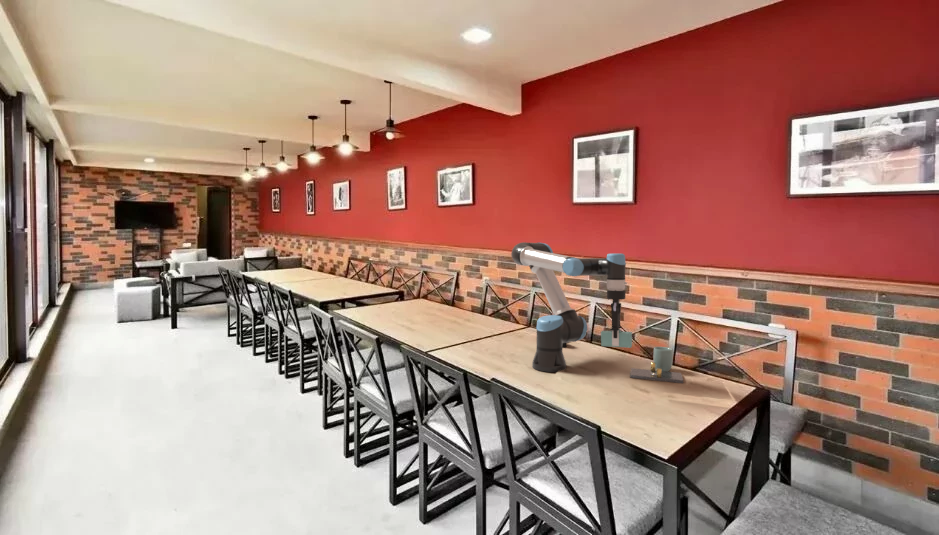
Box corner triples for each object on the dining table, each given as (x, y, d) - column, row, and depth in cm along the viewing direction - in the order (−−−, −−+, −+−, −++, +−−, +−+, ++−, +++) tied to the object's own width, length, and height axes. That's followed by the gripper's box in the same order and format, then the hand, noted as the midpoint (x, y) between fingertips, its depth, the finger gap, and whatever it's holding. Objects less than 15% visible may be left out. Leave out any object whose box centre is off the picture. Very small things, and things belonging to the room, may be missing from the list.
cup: (674, 373, 195) (674, 350, 195) (655, 372, 197) (655, 349, 196) (669, 369, 203) (670, 347, 202) (651, 368, 204) (652, 346, 204)
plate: (630, 377, 188) (630, 366, 188) (631, 370, 199) (631, 360, 199) (683, 383, 181) (683, 371, 180) (680, 375, 192) (681, 364, 192)
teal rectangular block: (601, 346, 192) (600, 329, 192) (602, 344, 195) (602, 328, 195) (630, 347, 186) (630, 330, 186) (632, 346, 190) (631, 329, 190)
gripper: (623, 291, 181) (623, 349, 182) (626, 288, 197) (626, 341, 197) (604, 290, 184) (604, 347, 185) (609, 288, 200) (608, 340, 200)
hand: (616, 344), depth 191 cm, fingers closed on teal rectangular block, 4 cm apart
